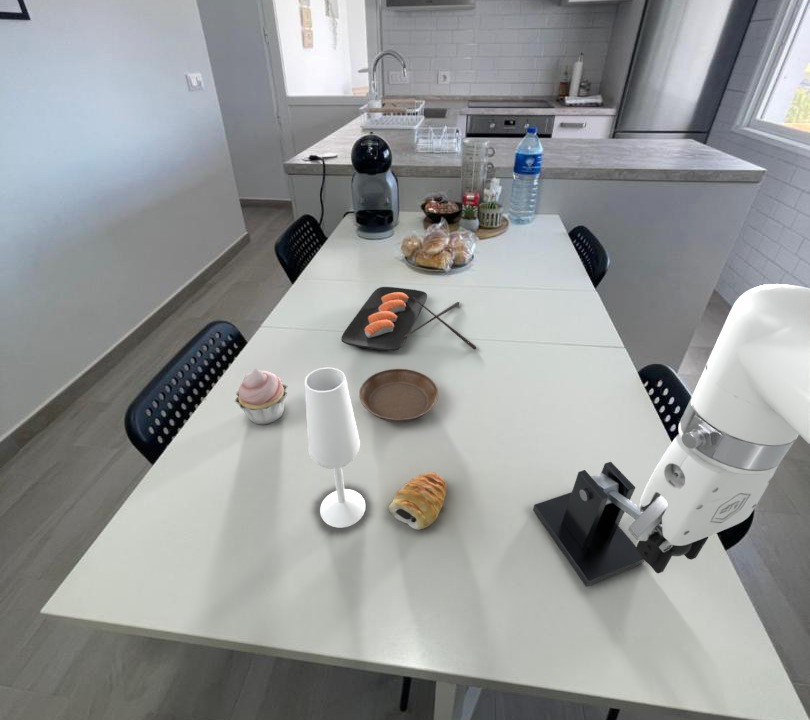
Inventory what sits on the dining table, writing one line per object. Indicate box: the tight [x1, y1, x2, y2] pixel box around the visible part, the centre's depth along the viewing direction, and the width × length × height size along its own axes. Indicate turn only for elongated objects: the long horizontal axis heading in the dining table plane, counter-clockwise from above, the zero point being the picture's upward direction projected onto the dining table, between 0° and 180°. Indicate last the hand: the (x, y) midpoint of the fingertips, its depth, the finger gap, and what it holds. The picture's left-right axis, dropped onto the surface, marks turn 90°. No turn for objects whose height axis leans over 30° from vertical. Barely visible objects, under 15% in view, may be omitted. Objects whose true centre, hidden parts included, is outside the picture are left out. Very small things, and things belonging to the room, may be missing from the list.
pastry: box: [388, 472, 448, 531], centre depth 65 cm, size 9×7×4 cm
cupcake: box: [234, 368, 289, 425], centre depth 80 cm, size 9×9×10 cm
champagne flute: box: [304, 366, 367, 529], centre depth 59 cm, size 7×7×24 cm
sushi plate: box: [340, 286, 477, 352], centre depth 107 cm, size 29×30×4 cm
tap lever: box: [591, 473, 692, 557], centre depth 51 cm, size 13×4×4 cm, turn 20°
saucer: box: [358, 368, 439, 423], centre depth 84 cm, size 15×15×3 cm
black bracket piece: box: [532, 461, 646, 587], centre depth 58 cm, size 12×9×12 cm
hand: (665, 552), depth 48 cm, fingers closed on tap lever, 3 cm apart
